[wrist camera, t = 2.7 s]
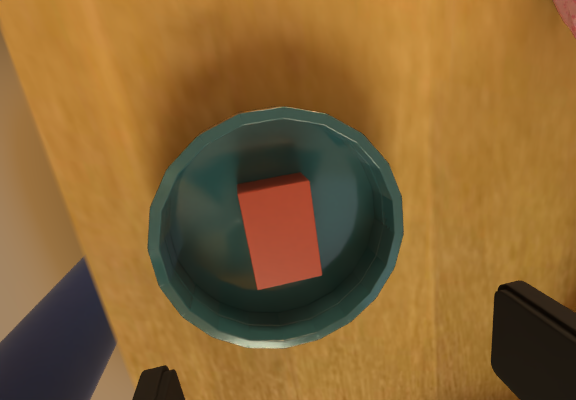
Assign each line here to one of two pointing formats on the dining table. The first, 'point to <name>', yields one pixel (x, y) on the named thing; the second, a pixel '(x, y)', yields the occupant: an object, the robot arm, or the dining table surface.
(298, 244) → the red rectangular prism
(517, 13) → the dining table surface
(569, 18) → the decorative rock
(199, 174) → the bowl
